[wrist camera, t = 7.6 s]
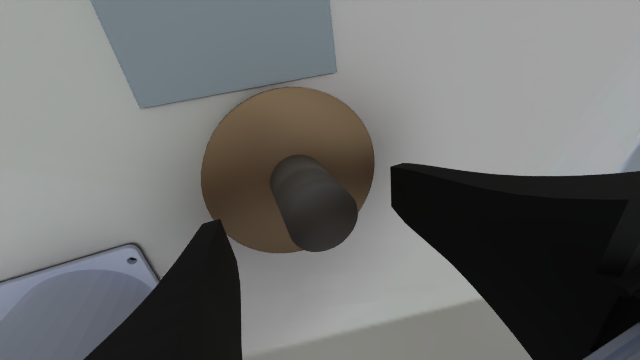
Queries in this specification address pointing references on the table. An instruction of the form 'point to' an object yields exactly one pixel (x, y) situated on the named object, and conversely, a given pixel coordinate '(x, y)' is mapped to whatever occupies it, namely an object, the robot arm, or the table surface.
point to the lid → (288, 171)
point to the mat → (215, 44)
